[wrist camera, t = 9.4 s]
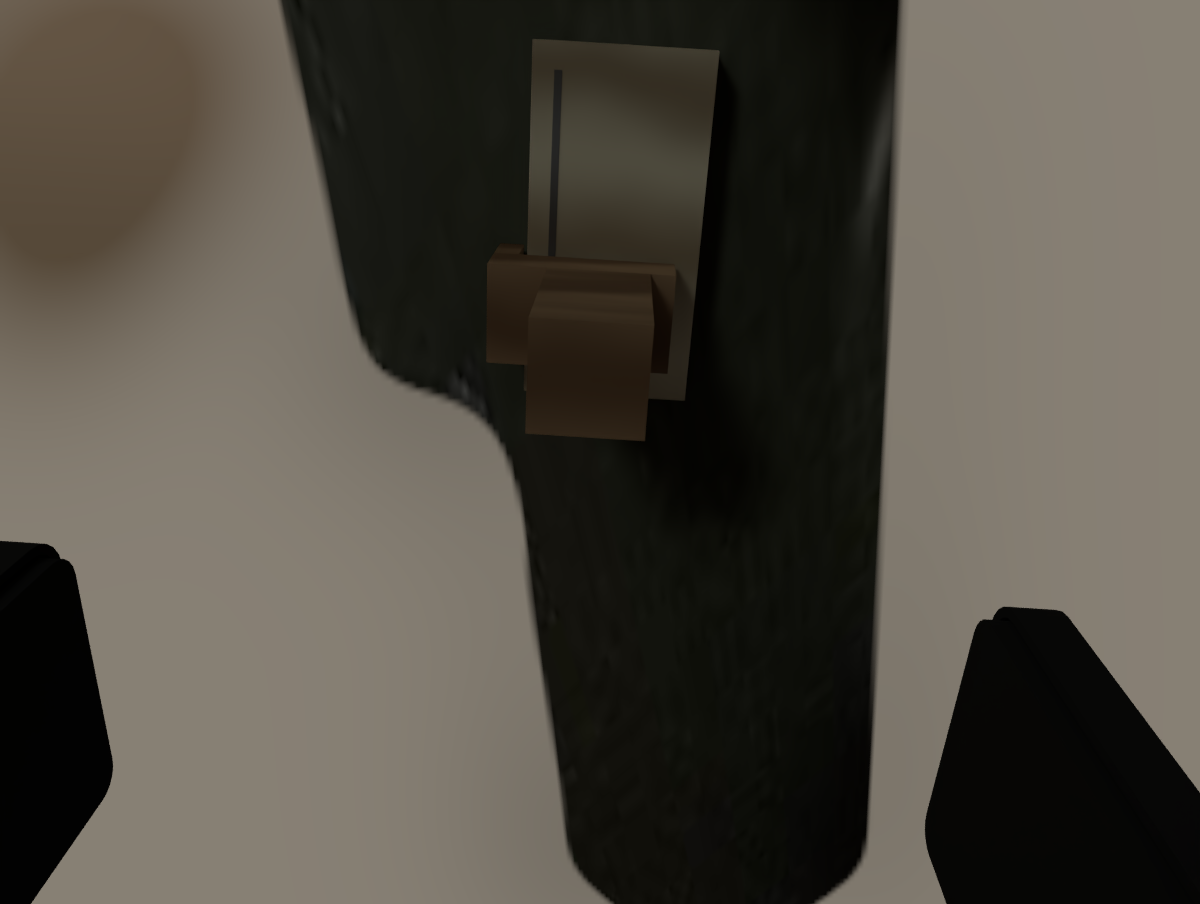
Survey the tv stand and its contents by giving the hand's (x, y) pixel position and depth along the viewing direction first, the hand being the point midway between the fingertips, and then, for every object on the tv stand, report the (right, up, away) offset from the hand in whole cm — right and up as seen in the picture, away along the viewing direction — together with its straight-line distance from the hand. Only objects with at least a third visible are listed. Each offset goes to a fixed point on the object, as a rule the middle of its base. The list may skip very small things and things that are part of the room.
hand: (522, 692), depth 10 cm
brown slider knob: (+1, +10, +31) cm, 33 cm away
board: (+1, +12, +30) cm, 32 cm away
